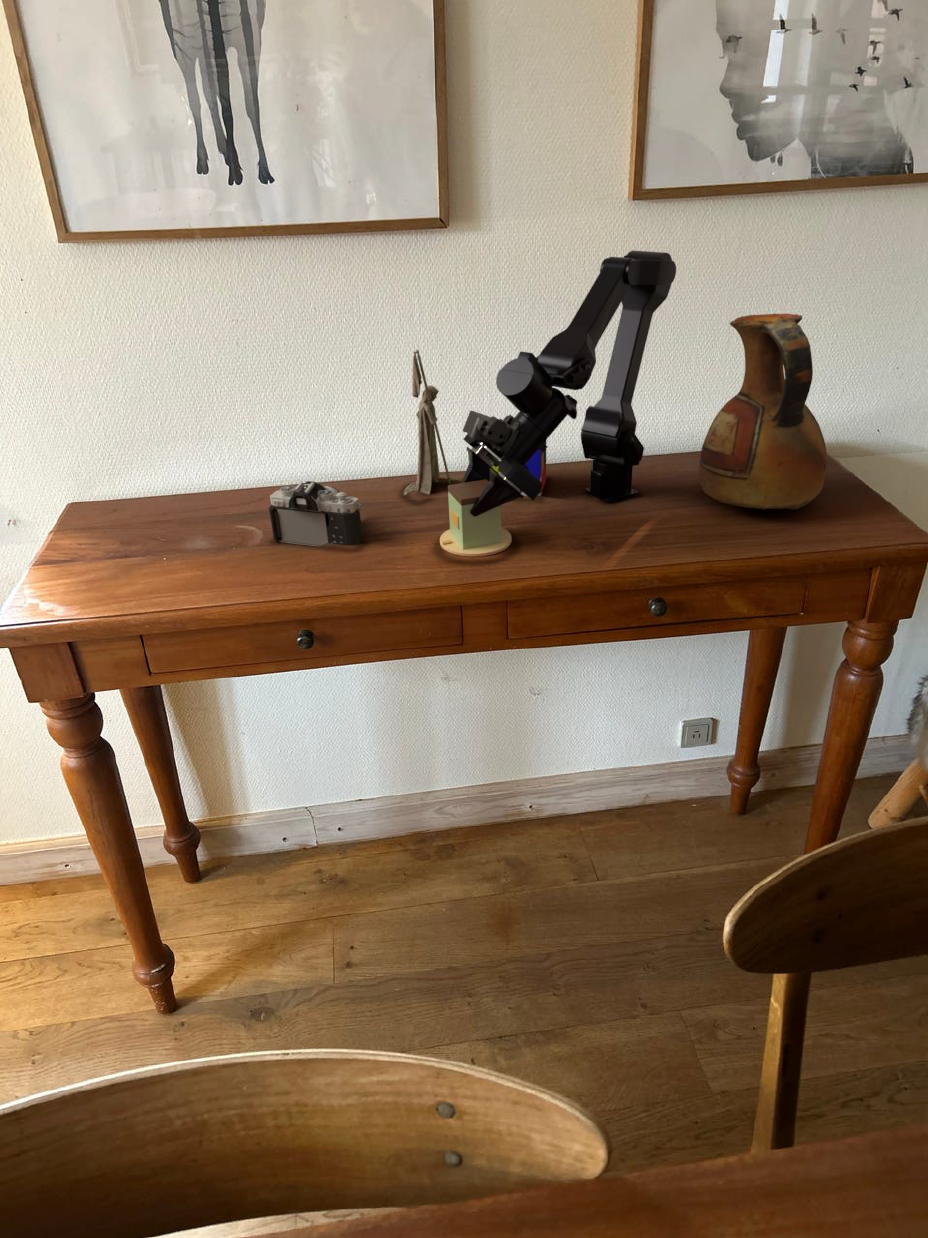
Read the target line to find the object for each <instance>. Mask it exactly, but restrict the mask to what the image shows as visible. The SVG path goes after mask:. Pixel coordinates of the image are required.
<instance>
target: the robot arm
mask: <svg viewBox="0 0 928 1238" xmlns="http://www.w3.org/2000/svg"><path fill="white" fill-rule="evenodd" d="M676 274H677V265H676V262H675V261H674V260H673V259H672V256H671V254H670V253H669V252H663V251H649V250H648V251H647V250H633V249H632V250H630V251H628V253H627V254H625V255H624V256H623V257H622V256H609V257H607V258H604V259H603V261H602V262H601V264H600V269H599V273H598V275H597V277H596V279H595V281H594V282H593V284H592V285H591V287H590V289H589V291H588V292H587V294H586V296H585V298H584V299H583V301H582V303H581V304H580V306H579V308H578V309H577V311H576V313H575V314H574V316H573V318H572V319H571V321H570V323H569V325H568V326H567V327H566V328H565V329H564V330H562V331H561V332H559V333H557V334H555V335H553V337H551V338H550V340H549V341H548V343H547V344H546V345H545V347H543V349H542V350H541V351H540V353H539V355H537V356H535V354H534V353H533V352H529V351H519V353H518V356H517V358H514V359H511V360H509V361H508V362H507V363H505V364H504V365H503V366H502V368H500V369H499V370H498V372H497V375H496V378H495V379H496V380H495V384H496V388H497V390H498V391H499V393H500V394H501V395H503V397H505V398H506V399H507V400H508V401H509V402H510V403H511V404H512V405H513V406H514V407H515V409H517V410H518V413H516V415H515V416H513V415H511V414H509V415H505V417H504V418H503V419H502V418H497V417H496V416H494V415H493V416H489V415H487V414H483V413H481V412H478V411H474V410H469V413H468V415H467V417H466V421H465V423H464V426H463V428H462V432H463V433H466V435H465V436H464V437H463V441H464V442H465V443H467V444H468V445H469V446H470V447H472V448H470V447H468V446H466V451H467V455H468V465H467V467H466V471H465V473H464V476H463V477H462V480H461V482H460V483H466V482H472V481H478V480H484V479H487V480H488V481H489V484H488V485H487V486H486V488H485V489H484V491H483V492H482V494H481V495H480V497H479V498H478V499H477V501H476V502H475V504H474V505H473V507H472V509H471V511H470V513H471V514H472V515H473V516H474V517H476V516H478V515H480V514H482V513H485V512H487V511H489V510H491V509H493V508H495V507H498V506H500V505H501V506H502V505H504V504H507V503H510V502H512V501H515V500H517V499H524V498H525V496H523V495H522V494H521V493H522V492H523V493H525V494H526V495H527V497H528V498H529V499H530V500H531V501H533V502H534V501H535V500H536V498H537V497H539V496H538V495H539V494H540V492H541V491H542V492H543V490H542V482H541V481H540V480H538V479H537V478H536V477H535V476H534V475H533V474H532V473H530V472H529V471H528V470H529V468H528V467H527V466H526V463H527V462H528V461H529V460H530V459H531V457H532V456H533V455H534V454H535V453H536V452H537V450H538V449H540V450H541V451H543V452H544V451H545V450H546V451H547V448H548V445H547V444H546V445H545V444H544V442H545V441H546V442H547V440H548V438H549V437H551V435H552V434H553V433H554V431H555V430H556V429H557V428H559V425H560V424H561V423H562V422H563V421H564V420H565V418H566V417H567V416H568V417H570V418H571V419H572V420H576V419H577V416H578V409H577V405H578V400H576V398H574V397H573V396H572V395H570V394H564V393H563V392H562V391H561V390H560V389H566V390H571V391H579V390H582V389H583V388H584V387H585V386H586V385H587V384H588V383H589V381H590V379H591V377H592V374H593V371H594V368H595V366H596V364H597V355H596V349H597V345H598V344H599V341H600V340H601V338H602V336H603V335H604V333H605V331H606V329H607V328H608V326H609V324H610V322H611V321H612V319H613V317H614V315H615V313H616V312H617V310H618V309H619V307H620V305H622V308H621V313H620V318H619V321H618V327H617V330H616V335H615V339H614V343H613V348H612V352H611V355H610V360H609V363H608V364H609V365H608V369H607V373H606V378H605V382H604V386H603V391H602V395H601V398H600V399H599V400H598V401H597V402H596V403H595V404H594V406H593V405H589V406H587V408H586V410H585V414H584V421H583V424H582V426H581V429H580V431H581V432H580V442H581V446H582V447H581V448H582V452H583V456H584V459H587V460H592V468H591V470H590V479H589V482H590V483H589V488H585V493H586V494H590V495H591V496H593V497H595V498H597V499H600V500H601V501H604V502H606V503H611V504H612V503H614V502H617V501H620V500H624V499H628V498H631V497H634V496H637V495H638V491H637V490H635V489H633V488H632V485H633V471H634V470H633V468H634V466H639V465H640V462H641V461H642V458H643V456H644V451H645V447H644V445H643V444H642V442H641V441H640V440H639V438H638V436H637V434H636V430H637V425H638V422H637V418H636V415H635V412H634V409H633V406H632V405H633V404H632V403H633V400H634V399H633V398H634V394H635V390H636V386H637V381H638V377H639V373H640V369H641V365H642V361H643V357H644V352H645V349H646V345H647V341H648V336H649V332H650V328H651V323H652V319H653V315H654V314H655V312H656V311H657V310H658V309H659V308H660V306H661V305H662V304H663V303H664V302H665V301H666V300H667V298H668V296H669V294H670V290H671V288H672V284H673V282H674V281H675V278H676ZM558 388H560V389H558ZM493 465H494V466H495V467H497V466H499V468H498V471H499V472H500V474H499V473H498V472H497V471H495V470H494V469H493V468H492V466H493Z"/></svg>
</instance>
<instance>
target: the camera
mask: <svg viewBox="0 0 928 1238" xmlns="http://www.w3.org/2000/svg"><path fill="white" fill-rule="evenodd" d="M269 499H270V506H269V507H268V512H269V518H270V519H269V520H270V524H271V530H272V539H273V541H276V542H279V543H286V544H292V545H293V544H294V545H302V546H309V547H318V548H321V547H322V546H324V545H326V544H333V545H340V546H357V545H358V544H359V543H360V542H361V541H362V540H363V539H364V538H363V529H362V519H361V512H362V511H361V509H362V507H363V504H362V503H360V502H359V498H357V497H356V496H349V495H347V493H346V492H343V491H340V490H339V489H337V488H335V487H334V486H332V485H323V484H322V483H319V482H316V481H313V480H306V481H305V482H304V481H303V480H302V481H300V482H299V483H298V484H297V485H296V486H294V485H284V486H281V487H280V488H279V489H278V490H276V491H274V492H273V493H272V494H270V495H269Z"/></svg>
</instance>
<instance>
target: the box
mask: <svg viewBox="0 0 928 1238" xmlns="http://www.w3.org/2000/svg"><path fill="white" fill-rule="evenodd" d="M488 484H489V481H488V480H487V479H484V480H478V481H472V482H466V483H461V482H459V483H455V484H451V485H450V484H448V485H447V491H448V492H447V496H448V497H447V498H448V516H449V517H448V518H449V519H448V520H449V529H447V530H445V531H443V533H442V534H441V535H440V537H439V544H440V546H441V548H442V549H443V550H444V551H445V552H448V553H450V554H453V555H455V556H462V557H471V558H473V557H487V556H490V555H495V554H498V553H501V552H503V551H505V550H506V549H507V548H509V547H510V546H511V544H512V540H513V539H512V534H511V533H510V532H509V531H508V530H507V529H506V528H504V527H502V505H500V506H498V507H495V508H493V509H491V510H489V511H487V512H485V513H482V514H480V515H478V516H476V517H474V516H473V515H472V514H471V513H470V511H471V509H472V507H473V505H474V504H475V502H476V501H477V499H478V498H479V497H480V495H481V494H482V492H483V491H484V489H485V488H486V486H487V485H488Z"/></svg>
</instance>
